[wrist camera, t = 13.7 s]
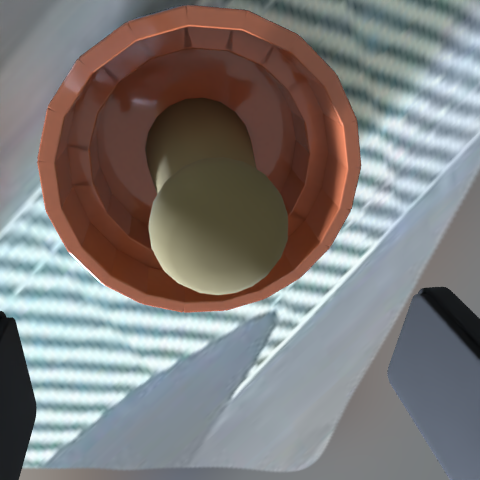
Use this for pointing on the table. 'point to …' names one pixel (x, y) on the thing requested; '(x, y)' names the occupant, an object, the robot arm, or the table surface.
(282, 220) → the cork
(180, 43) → the basin
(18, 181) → the table surface
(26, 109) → the table surface
